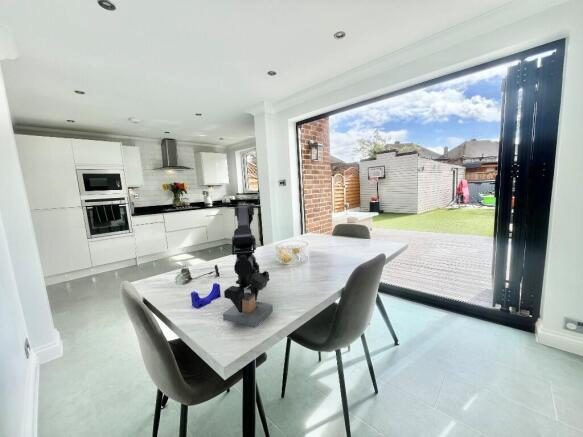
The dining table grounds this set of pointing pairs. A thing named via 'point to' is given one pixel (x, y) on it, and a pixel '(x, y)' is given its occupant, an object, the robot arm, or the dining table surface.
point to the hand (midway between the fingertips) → (248, 306)
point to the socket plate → (246, 318)
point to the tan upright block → (248, 303)
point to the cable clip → (201, 302)
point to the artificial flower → (189, 275)
